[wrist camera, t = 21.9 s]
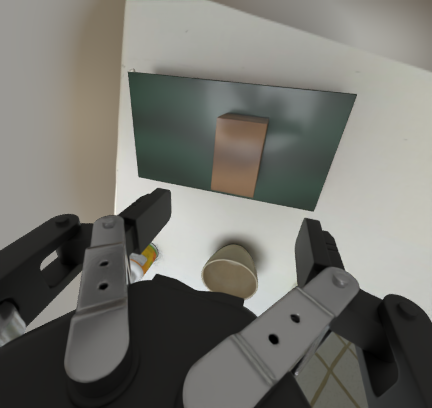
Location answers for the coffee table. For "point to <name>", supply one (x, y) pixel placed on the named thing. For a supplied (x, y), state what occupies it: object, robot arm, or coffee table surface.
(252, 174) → the eraser
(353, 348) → the planter
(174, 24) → the coffee table surface
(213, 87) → the chalkboard
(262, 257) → the coffee table surface
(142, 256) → the supplement bottle
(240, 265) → the flower pot
